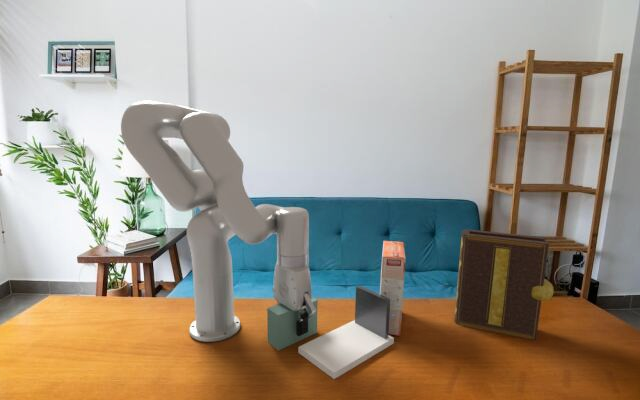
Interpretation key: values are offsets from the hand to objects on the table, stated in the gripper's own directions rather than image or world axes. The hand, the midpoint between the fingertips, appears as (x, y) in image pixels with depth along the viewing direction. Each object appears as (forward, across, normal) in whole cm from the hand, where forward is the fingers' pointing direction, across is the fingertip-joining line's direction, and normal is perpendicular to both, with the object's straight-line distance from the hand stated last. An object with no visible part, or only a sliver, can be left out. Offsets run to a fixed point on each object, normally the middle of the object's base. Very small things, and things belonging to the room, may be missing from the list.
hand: (293, 327), depth 89 cm
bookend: (+1, +12, +16) cm, 20 cm away
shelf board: (+3, +12, +7) cm, 14 cm away
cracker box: (+3, +11, +25) cm, 27 cm away
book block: (+3, 0, 0) cm, 3 cm away
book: (+3, +31, +44) cm, 55 cm away
